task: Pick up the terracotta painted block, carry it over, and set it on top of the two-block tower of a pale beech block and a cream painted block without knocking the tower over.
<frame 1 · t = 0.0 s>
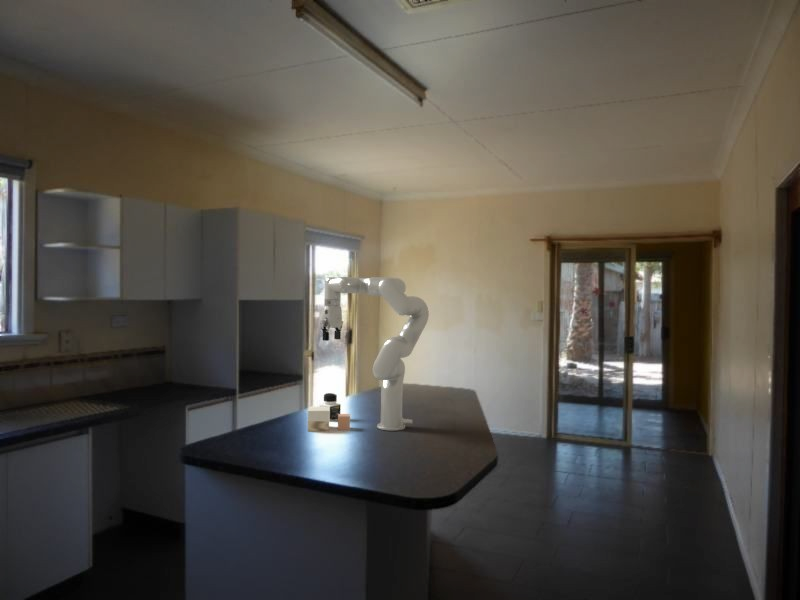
hand: (331, 339, 264), 37 cm above the countertop, tool pointing down, fingers open, 9 cm apart
terracotta block: (343, 428, 246), on the countertop
beech block: (318, 429, 245), on the countertop, touching cream block
medicine bottle: (329, 419, 264), on the countertop
cream block: (318, 419, 245), point 4 cm above the countertop, touching beech block
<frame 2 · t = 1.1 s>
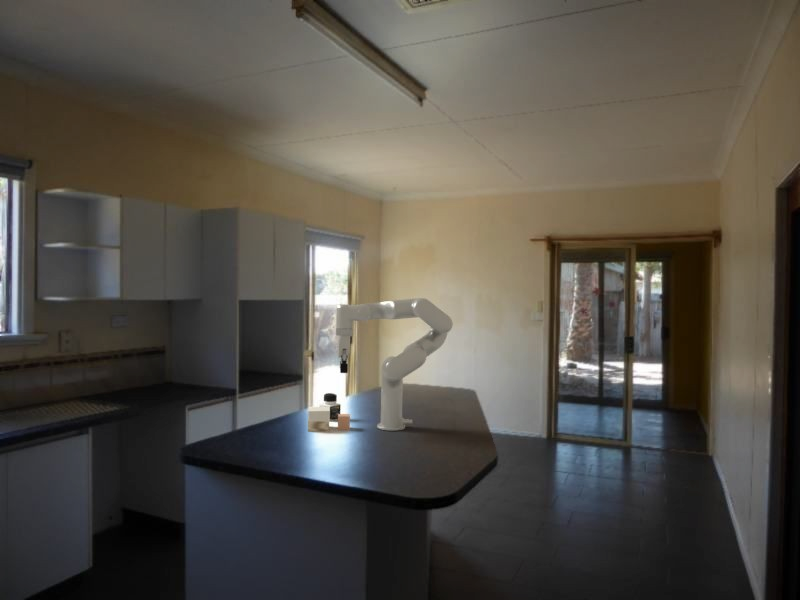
hand: (343, 371, 247), 25 cm above the countertop, tool pointing down, fingers open, 9 cm apart
nothing on the countertop moved.
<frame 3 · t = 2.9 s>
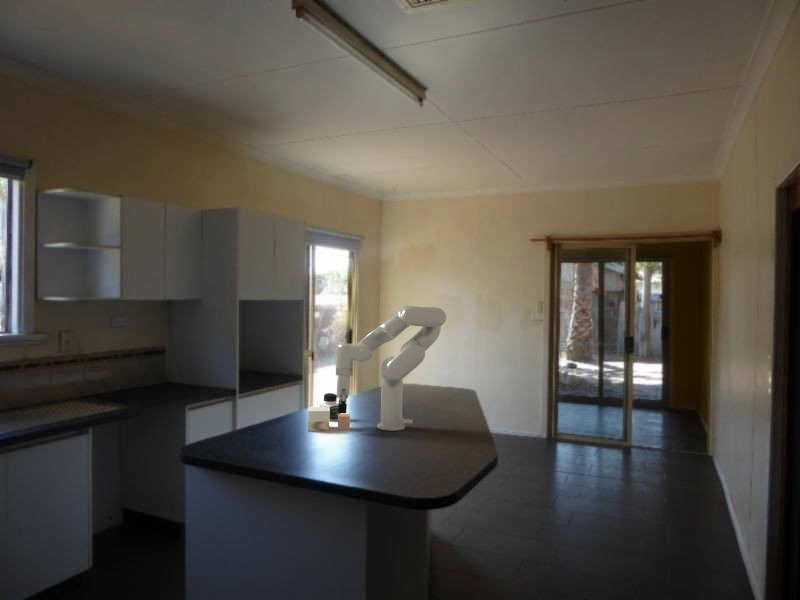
hand: (342, 410, 246), 8 cm above the countertop, tool pointing down, fingers open, 9 cm apart
nothing on the countertop moved.
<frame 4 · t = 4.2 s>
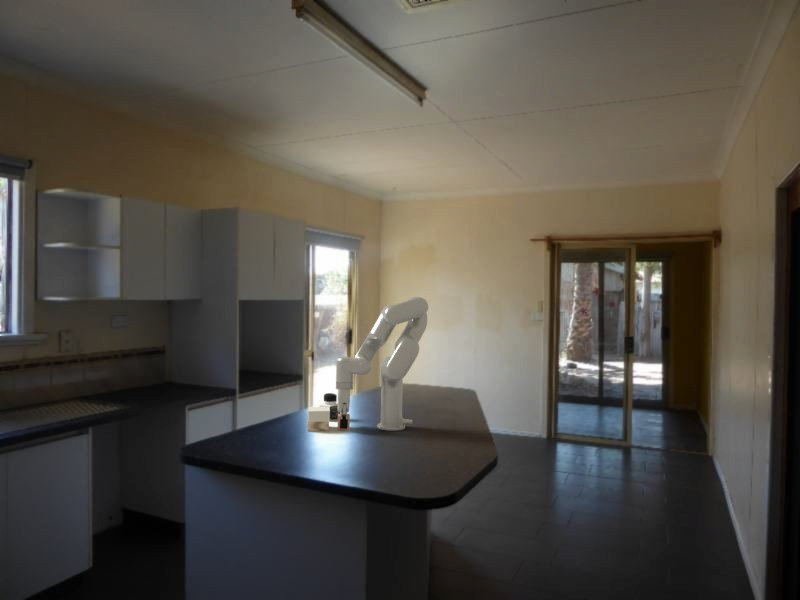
hand: (343, 426, 246), 1 cm above the countertop, tool pointing down, fingers closed on terracotta block, 5 cm apart
terracotta block: (343, 428, 246), on the countertop, touching gripper
everything else where it was.
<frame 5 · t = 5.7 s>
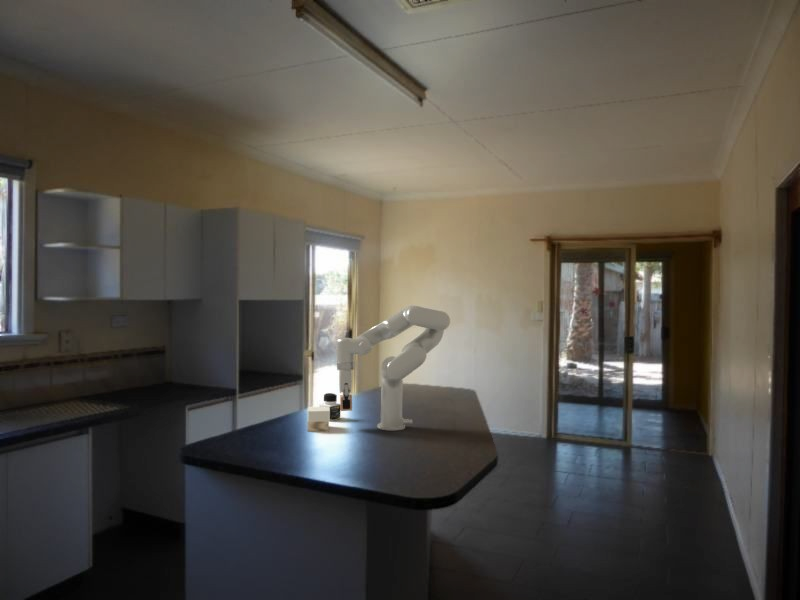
hand: (346, 407, 246), 9 cm above the countertop, tool pointing down, fingers closed on terracotta block, 4 cm apart
terracotta block: (346, 409, 246), point 8 cm above the countertop, touching gripper
everything else where it was.
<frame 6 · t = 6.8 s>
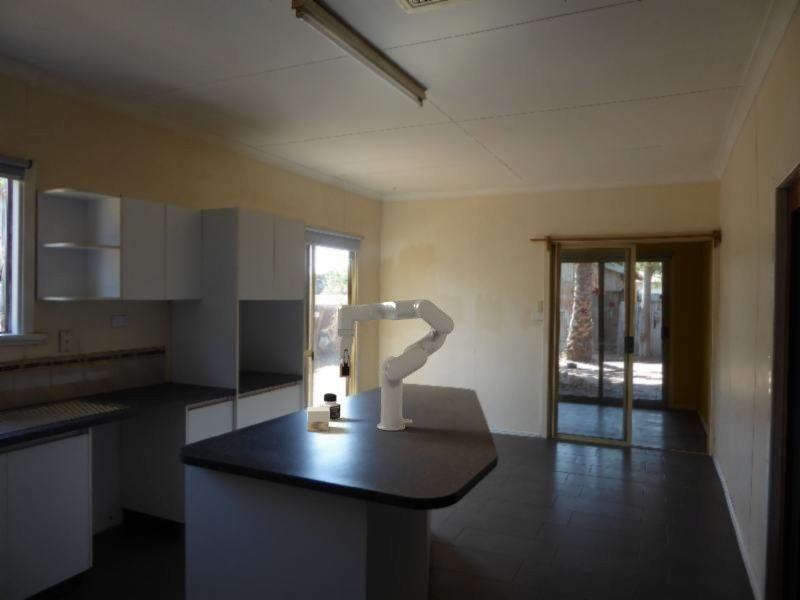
hand: (345, 374, 246), 24 cm above the countertop, tool pointing down, fingers closed on terracotta block, 4 cm apart
terracotta block: (345, 376, 246), point 23 cm above the countertop, touching gripper
everything else where it was.
when the fingers open (11 cm above the countertop, at t = 10.2 s): terracotta block drops 2 cm, resting on cream block.
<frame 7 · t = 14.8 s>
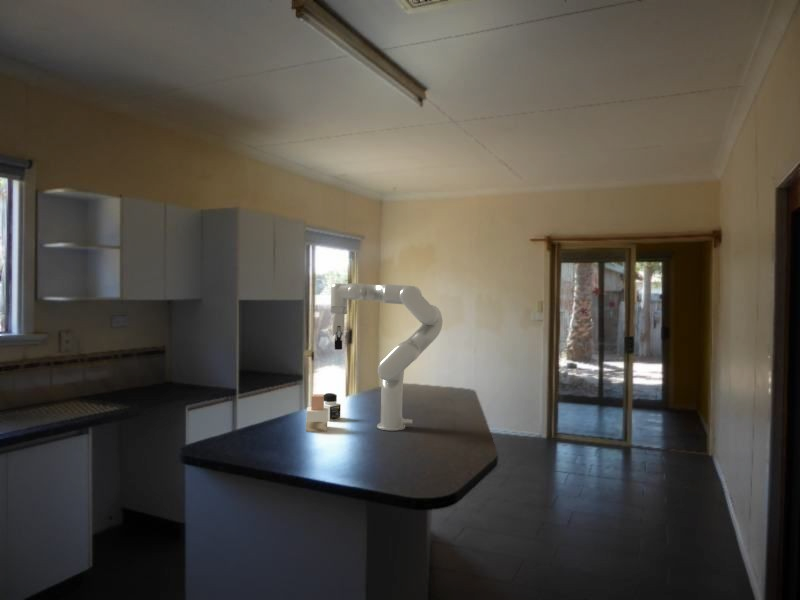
hand: (338, 348, 254), 34 cm above the countertop, tool pointing down, fingers open, 9 cm apart
terracotta block: (317, 409, 244), point 9 cm above the countertop, touching cream block
cream block: (317, 419, 244), point 4 cm above the countertop, touching beech block, terracotta block
everything else where it was.
at the end: terracotta block inside the target area (0.9 cm from its centre), point 8.7 cm above the countertop; terracotta block tilted 0°; cream block 0.2 cm off-centre on the beech block, point 4.5 cm above the beech block's base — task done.
